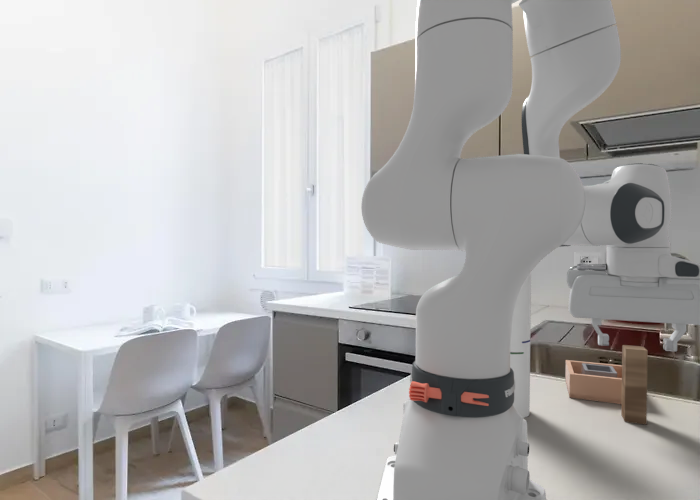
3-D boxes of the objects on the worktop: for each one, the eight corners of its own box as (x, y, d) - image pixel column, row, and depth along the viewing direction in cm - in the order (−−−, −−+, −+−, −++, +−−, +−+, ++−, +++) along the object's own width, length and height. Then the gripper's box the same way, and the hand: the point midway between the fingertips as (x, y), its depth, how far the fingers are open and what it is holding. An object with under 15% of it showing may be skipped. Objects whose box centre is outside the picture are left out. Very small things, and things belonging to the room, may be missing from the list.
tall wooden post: (646, 424, 70) (647, 350, 70) (624, 421, 72) (625, 348, 71) (642, 417, 73) (643, 346, 73) (621, 415, 74) (622, 344, 74)
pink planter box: (637, 406, 79) (638, 379, 78) (569, 397, 83) (569, 372, 83) (625, 387, 89) (626, 364, 89) (565, 381, 93) (565, 358, 93)
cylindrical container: (538, 413, 75) (540, 267, 75) (511, 421, 71) (512, 268, 71) (504, 400, 81) (505, 265, 81) (477, 407, 77) (478, 266, 77)
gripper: (568, 264, 73) (567, 346, 74) (721, 267, 65) (718, 359, 66) (565, 262, 79) (564, 338, 80) (705, 264, 71) (703, 348, 72)
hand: (635, 347), depth 73 cm, fingers open, 8 cm apart
